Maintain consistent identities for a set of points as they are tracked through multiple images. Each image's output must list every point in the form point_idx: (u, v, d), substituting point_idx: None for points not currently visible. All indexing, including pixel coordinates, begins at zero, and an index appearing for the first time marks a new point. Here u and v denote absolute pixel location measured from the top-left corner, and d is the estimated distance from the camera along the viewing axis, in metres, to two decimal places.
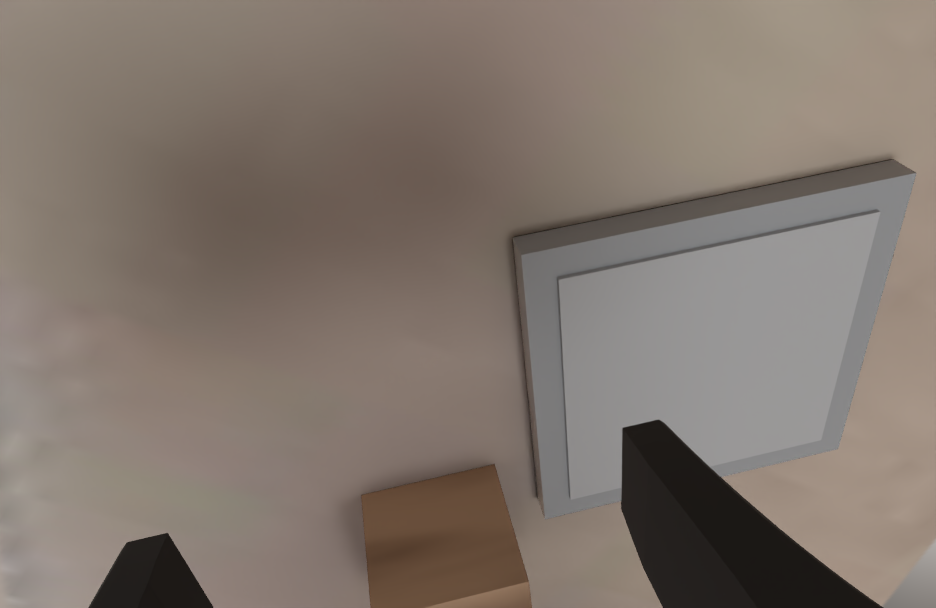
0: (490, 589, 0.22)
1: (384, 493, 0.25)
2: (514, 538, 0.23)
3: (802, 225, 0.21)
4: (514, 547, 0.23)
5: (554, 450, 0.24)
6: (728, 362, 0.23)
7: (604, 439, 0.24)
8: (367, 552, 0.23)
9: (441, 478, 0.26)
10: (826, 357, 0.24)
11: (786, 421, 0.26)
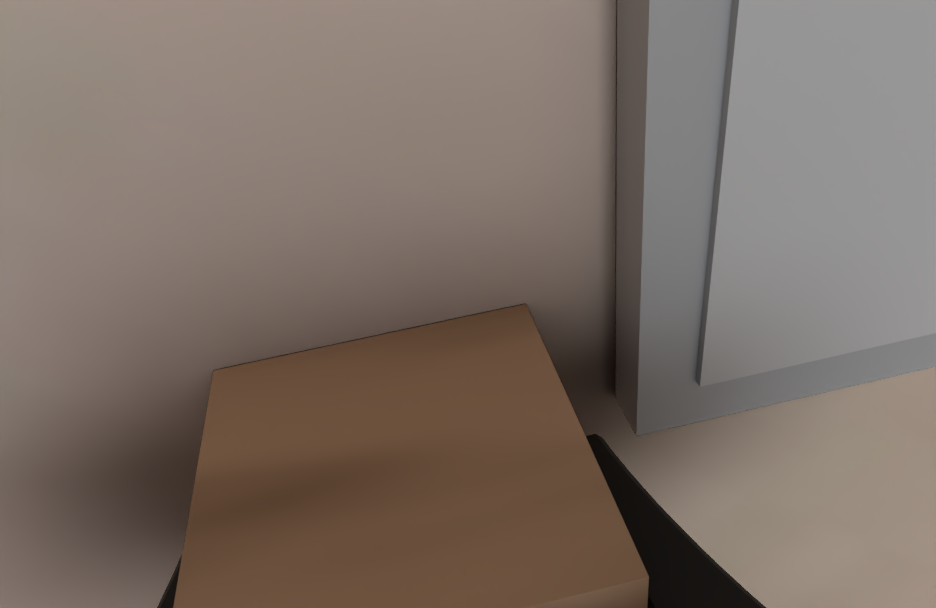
0: (533, 602, 0.07)
1: (267, 368, 0.11)
2: (591, 459, 0.08)
3: None
4: (594, 482, 0.08)
5: (679, 246, 0.10)
6: None
7: (804, 218, 0.10)
8: (196, 499, 0.09)
9: (403, 337, 0.11)
10: None
11: None
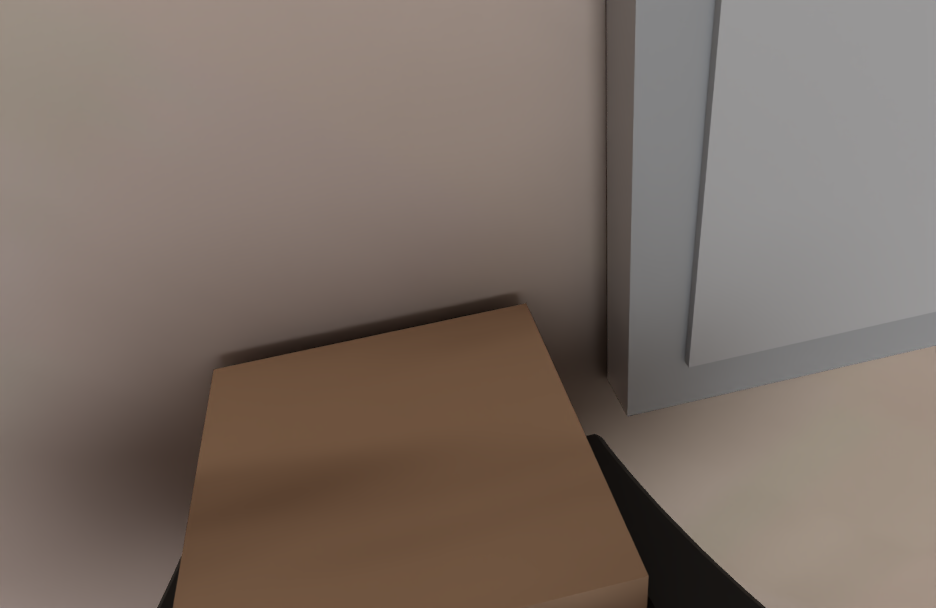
0: (533, 601, 0.07)
1: (267, 367, 0.11)
2: (591, 459, 0.08)
3: None
4: (594, 481, 0.08)
5: (667, 228, 0.10)
6: None
7: (789, 200, 0.10)
8: (196, 497, 0.09)
9: (402, 336, 0.11)
10: None
11: None
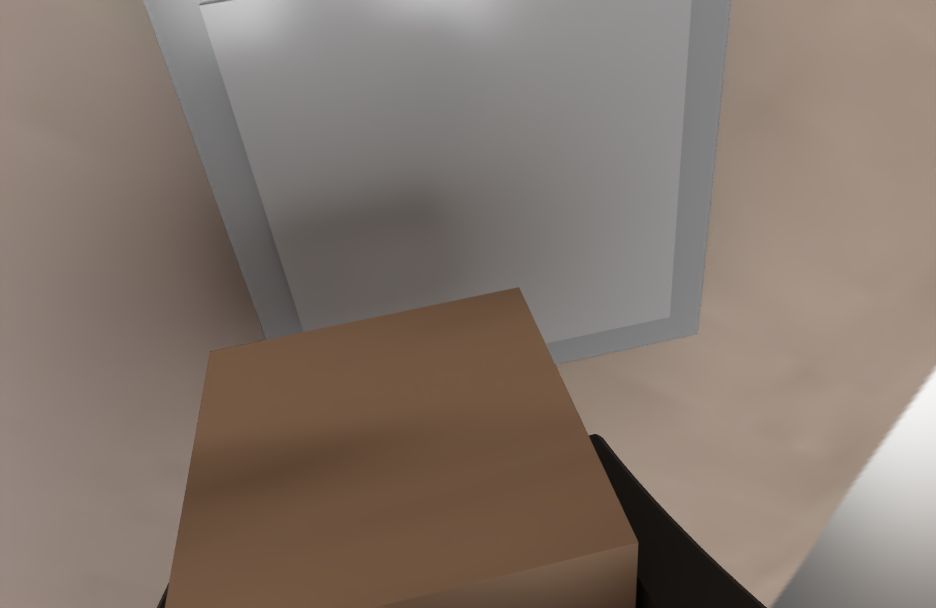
0: (525, 567, 0.07)
1: (263, 349, 0.11)
2: (583, 433, 0.09)
3: None
4: (585, 454, 0.08)
5: (279, 312, 0.18)
6: (508, 179, 0.17)
7: (349, 296, 0.18)
8: (193, 472, 0.09)
9: (397, 318, 0.11)
10: (655, 182, 0.17)
11: (614, 284, 0.19)
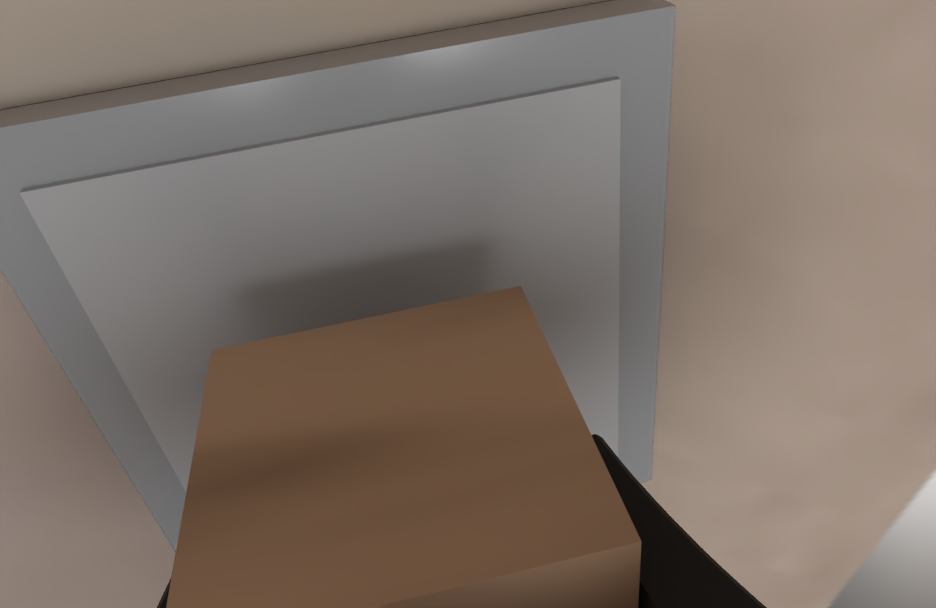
0: (527, 565, 0.07)
1: (264, 348, 0.11)
2: (585, 432, 0.09)
3: (481, 102, 0.12)
4: (588, 453, 0.08)
5: (165, 488, 0.15)
6: None
7: None
8: (195, 471, 0.09)
9: (399, 317, 0.11)
10: (590, 340, 0.15)
11: None
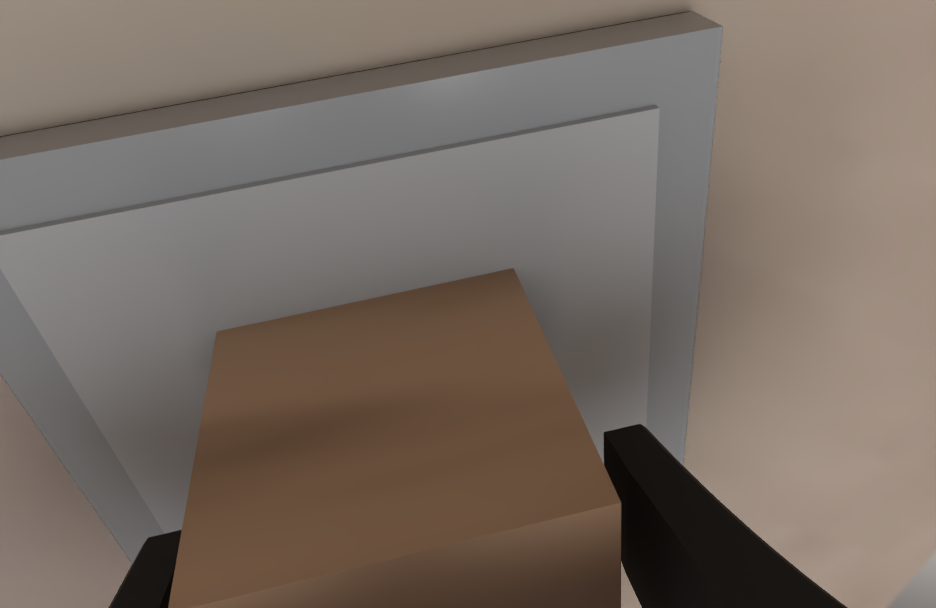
0: (514, 525, 0.08)
1: (267, 329, 0.11)
2: (571, 403, 0.09)
3: (503, 134, 0.11)
4: (573, 423, 0.09)
5: None
6: None
7: None
8: (201, 443, 0.09)
9: (396, 299, 0.11)
10: (617, 386, 0.14)
11: None
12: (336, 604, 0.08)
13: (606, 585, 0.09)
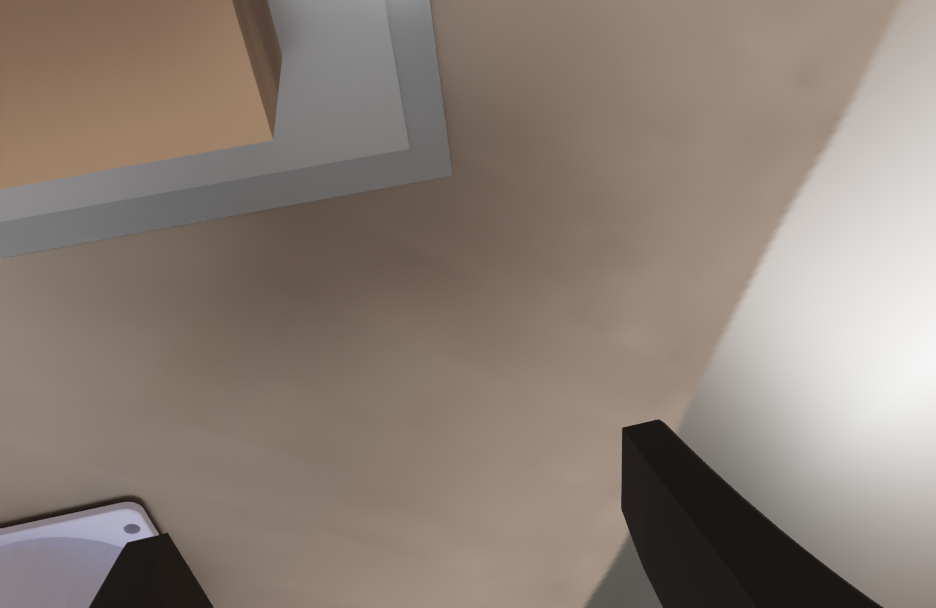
0: None
1: None
2: None
3: None
4: None
5: None
6: None
7: None
8: None
9: None
10: None
11: (329, 99, 0.16)
12: None
13: None
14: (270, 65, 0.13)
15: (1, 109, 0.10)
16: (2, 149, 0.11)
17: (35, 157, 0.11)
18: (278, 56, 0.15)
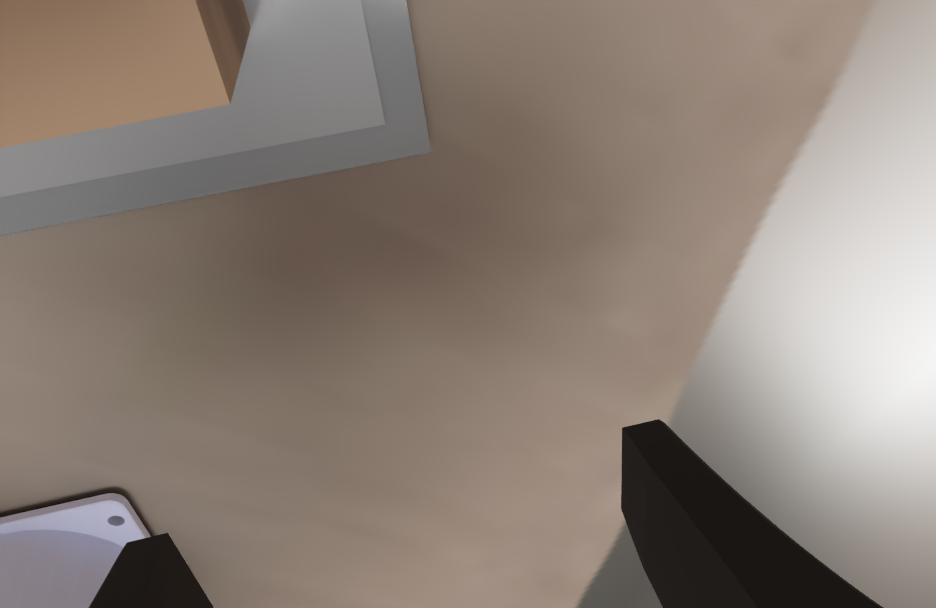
0: None
1: None
2: None
3: None
4: None
5: None
6: None
7: None
8: None
9: None
10: None
11: (300, 73, 0.16)
12: None
13: None
14: (232, 32, 0.13)
15: None
16: None
17: None
18: (245, 26, 0.14)
